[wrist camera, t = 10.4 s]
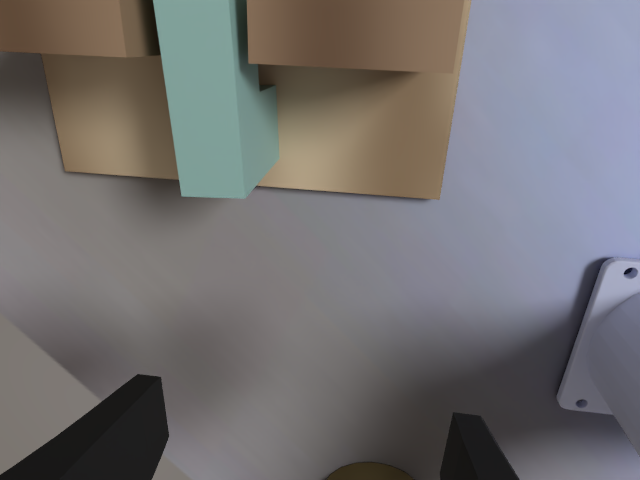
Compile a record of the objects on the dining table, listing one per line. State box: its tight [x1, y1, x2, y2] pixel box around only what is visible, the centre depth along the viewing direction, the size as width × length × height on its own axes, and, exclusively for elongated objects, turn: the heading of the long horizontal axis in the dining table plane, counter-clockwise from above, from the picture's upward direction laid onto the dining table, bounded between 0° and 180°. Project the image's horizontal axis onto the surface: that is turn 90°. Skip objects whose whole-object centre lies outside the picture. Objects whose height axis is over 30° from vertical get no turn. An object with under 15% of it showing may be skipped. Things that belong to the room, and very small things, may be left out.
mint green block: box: [153, 0, 280, 199], centre depth 14 cm, size 2×9×5 cm, turn 0°
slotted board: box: [0, 0, 471, 200], centre depth 14 cm, size 16×12×6 cm
